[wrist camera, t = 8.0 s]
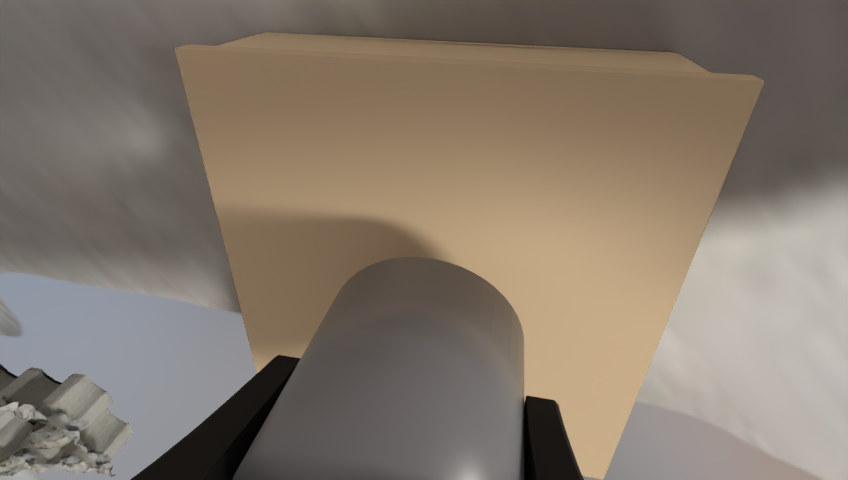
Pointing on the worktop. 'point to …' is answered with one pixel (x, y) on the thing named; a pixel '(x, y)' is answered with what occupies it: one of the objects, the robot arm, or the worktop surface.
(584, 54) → the carton box
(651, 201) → the lid
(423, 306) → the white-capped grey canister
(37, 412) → the egg carton
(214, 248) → the worktop surface
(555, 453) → the robot arm
